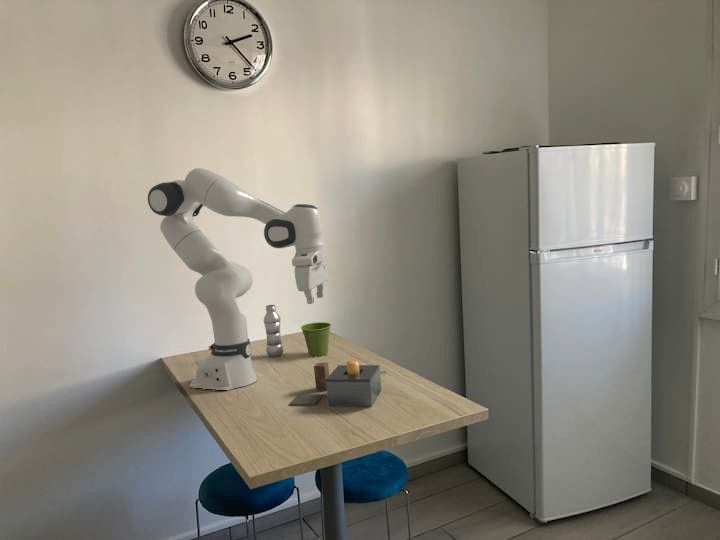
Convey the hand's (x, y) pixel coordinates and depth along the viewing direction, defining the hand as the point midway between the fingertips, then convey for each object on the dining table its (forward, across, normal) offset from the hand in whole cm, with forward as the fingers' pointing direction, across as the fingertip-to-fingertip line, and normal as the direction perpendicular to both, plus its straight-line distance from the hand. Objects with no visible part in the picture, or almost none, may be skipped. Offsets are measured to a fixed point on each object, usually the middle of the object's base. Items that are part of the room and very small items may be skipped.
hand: (315, 300), depth 177 cm
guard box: (+28, +9, +12) cm, 32 cm away
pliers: (+29, -11, +10) cm, 33 cm away
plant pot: (+28, -36, -14) cm, 48 cm away
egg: (+23, +9, +12) cm, 28 cm away
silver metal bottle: (+28, -35, -31) cm, 54 cm away
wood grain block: (+28, +2, 0) cm, 28 cm away
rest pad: (+28, +12, -2) cm, 30 cm away
